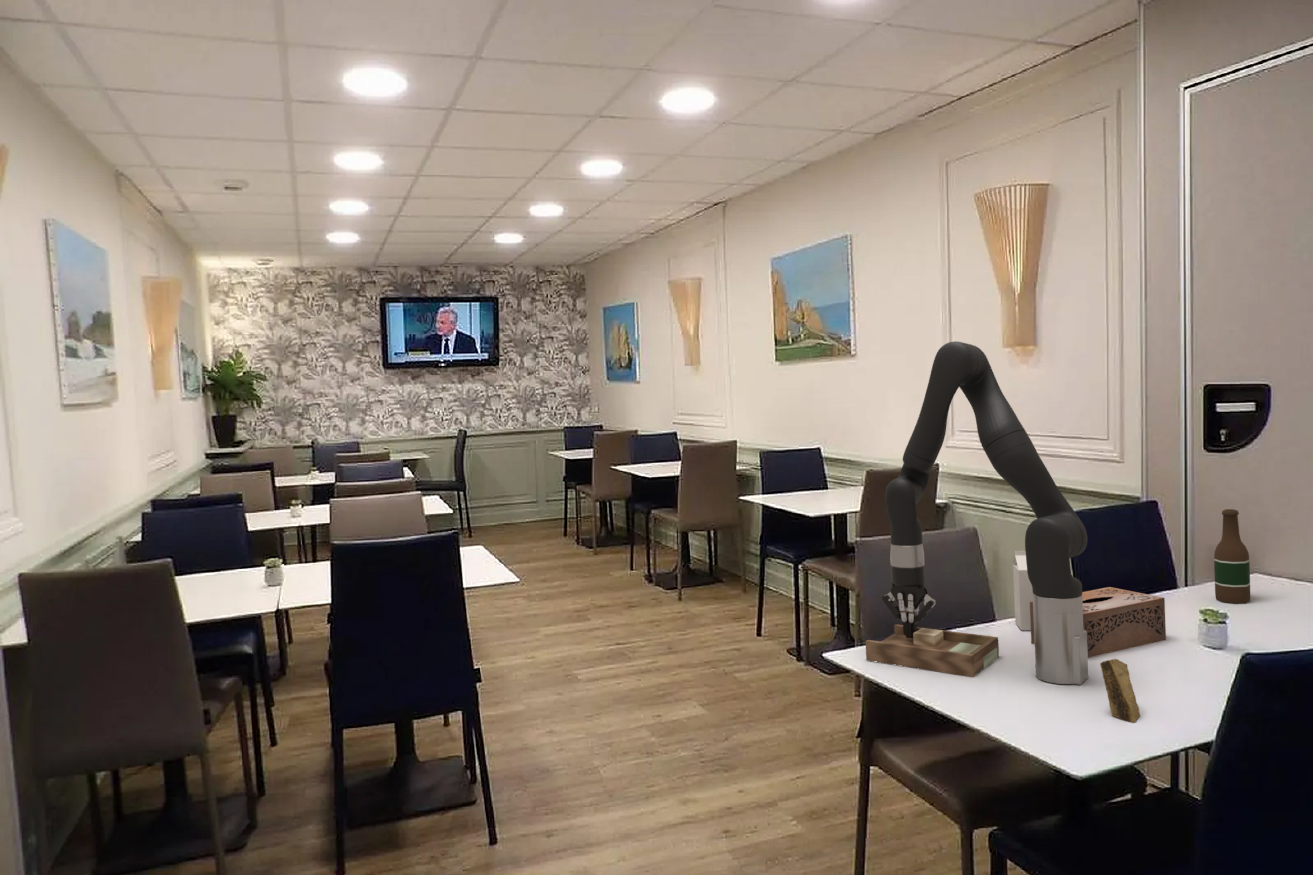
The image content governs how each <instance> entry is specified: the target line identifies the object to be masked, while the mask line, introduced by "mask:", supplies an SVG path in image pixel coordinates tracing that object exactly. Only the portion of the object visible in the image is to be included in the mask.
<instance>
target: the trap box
mask: <svg viewBox="0 0 1313 875" xmlns="http://www.w3.org/2000/svg"><path fill="white" fill-rule="evenodd" d="M893 626H894V633H893V634H891V635H889V636H887V637H886V638H884V639H882V640H881V641H880V640H879V641H878V640H871V639H867V640H865V657H866V660H870V661H869V662H872V661H877V662H876V663H879V662H881V664H885V663H887V665H892V664H896V665H895V666H898V665H902V666H901V667H904V666H906V668H912V669H917V668H919V670H924V669H925V671H930V672H931V671H932V672H938V673H943V674H949V673H950V675H957V676H961V677H962V676H963V677H970V678H974V677H975V676H976V675H977V674H979V673H981V672H982V671H983V670H984V669H986V668H987V667H988V666H990V664H992V663H993V662H995V661H996V660H997V659H999V657H1000V652H999V650H1000V649H999V645H1000V644H999V636H992V635H985V634H975V633H970V632H969V633H968V632H958V631H952V630H944V629H941V630H942V631H943V637H944V642H942V643H940V644H939V645H937V646H936V647H932V646H925V645H917V644H914V639H911V638H906V635H904V633H903V624H898V623H897V624H894V625H893ZM921 628H922V627H921V626H917V631H918V630H920V629H921ZM925 628H926V629H930V628H928V627H925ZM933 629H934V630H938V629H935V628H933ZM994 660H995V661H994ZM981 670H982V671H981Z"/></svg>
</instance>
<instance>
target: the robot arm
mask: <svg viewBox="0 0 1313 875" xmlns="http://www.w3.org/2000/svg"><path fill="white" fill-rule="evenodd" d="M958 389H960V390H961V392H962V393H963V394H964V396H965V398H966V399H967V401H968V402H969V404H970V406H971V408H972V411H973V413H974V417H975V423H976V429H977V436H978V439H979V443H980V445H981V447H982V448H983V451H984V453H985V455H986V456H987V459H988V460H989V462H990V464H991V466H992V468H993V469H994V470H995V472H996V473H997V474H998V475H999V476H1000V477H1001V478H1002V479H1003V481H1005V482H1006V483H1007V484H1008V485H1009V486H1010V487H1012V489H1014V490H1015V491H1016V492H1017V493H1019V495H1021V496H1022V497H1023V498H1024V500H1025V501H1026V502H1027V503H1028V504H1029V507H1030V508H1031V510H1032V512H1033V514H1034V515H1035V517H1036V519H1034V520H1033V521H1031V522H1030V523H1029V525H1028V526H1027V528H1026V532H1025V536H1024V551H1025V552H1026V563H1027V573H1028V578H1029V580H1030V582H1031V585H1032V590H1033V616H1034V641H1035V645H1034V658H1035V665H1034V667H1035V677H1036V678H1037V679H1039V680H1040V681H1044V682H1046V683H1051V684H1060V685H1079V686H1080V685H1082V684H1083V683H1084V682H1085V681H1086V680H1087V679H1088V678H1089V658H1088V650H1087V631H1086V630H1084V626H1083V600H1082V592H1083V584H1082V582H1081V580H1080V579H1078V578H1076V577H1074V576H1073V575H1072V570H1071V569H1072V568H1071V560H1070V559H1071V558H1075V557H1077V556H1080V555H1081V554H1082V553H1084V551H1085V550H1086V549H1087V546H1088V541H1089V540H1088V539H1089V538H1088V534H1087V530H1086V527H1085V525H1084V523H1083V522H1082V520H1081V519H1080V517H1079V516H1078V514H1077V513H1076V511H1075V510H1074V508H1073V507H1072V506H1071V505H1070V503H1069V502H1068V501H1067V499H1066V497H1065V496H1064V495H1063V493H1062V492H1061V490H1060V489H1059V488H1058V486H1057V484H1056V483H1055V481H1054V479H1053V477H1052V475H1051V474H1050V471H1049V470H1048V468H1047V466H1046V464H1045V463H1044V462H1043V460H1042V458H1041V457H1040V455H1039V453H1038V451H1037V449H1036V447H1035V445H1034V443H1033V441H1032V440H1031V438H1030V436H1029V435H1028V433H1027V431H1026V429H1025V428H1024V426H1023V424H1022V423H1021V422H1020V419H1019V418H1018V416H1017V414H1016V412H1015V411H1014V409H1013V407H1012V406H1011V405H1010V402H1009V401H1008V399H1007V398H1006V396H1005V395H1004V393H1003V391H1002V389H1001V387H1000V385H999V383H998V380H997V378H996V375H995V373H994V371H993V369H992V366H991V364H990V362H989V359H988V357H987V355H986V354H985V352H984V351H983V350H982V349H981V348H979V347H978V346H976V345H974V344H970V343H966V342H964V341H963V342H962V341H956V340H955V341H949V342H947V343H944V344H943V345H942V346H941V347H940V348H939V349H938V350H937V351H936V354H935V356H934V360H933V362H932V368H931V370H930V375H929V379H928V383H927V386H926V391H925V394H924V398H923V402H922V404H921V408H920V412H919V415H918V418H917V420H916V423H915V426H914V429H913V431H912V433H911V436H910V438H909V440H908V442H907V445H906V448H905V450H904V452H903V455H902V462H903V464H902V467H901V469H900V472H899V474H898V477H897V478H894V479H892V480H891V481H890V482H889V483H888V484H887V485H886V488H885V496H884V498H885V499H884V500H885V506H886V511H887V512H886V513H887V515H888V516H887V517H888V520H889V523H890V527H889V528H890V552H889V553H890V554H889V555H890V558H889V562H890V575H891V576H890V579H891V587H890V589H889V590H890V591H889V592H888V593H887V594H885V595H883V596H882V597H881V601H883V603H884V604H885V606H886V607H887V608H888V610H889V611H890V613H891V614H892V615H893V617H894V618H895V619H899V620H901V621H902V625H903V633H904V635H906V638H911V639H913V633H914V632H916V631H917V627H918V622H920V621H922V620H924V619H925V618H926V617H927V616H928V615H929V614H930V612H931V611H932V610H933V609H934V607H935V606H936V604H937V603H938V601H937V599H936V598H932V597H931V596H930V595H929V594H928V589H927V588H926V568H925V566H926V565H925V564H926V563H925V551H924V546H923V545H924V544H923V527H922V526H923V525H922V522H921V520H920V519H919V518H918V514H917V504H918V503H919V502H920V501H921V500H922V498H923V496H924V495H925V492H926V489H927V487H928V483H929V479H930V477H931V473H932V469H933V467H934V465H935V463H936V460H937V458H938V456H939V454H940V451H941V449H942V447H943V445H944V441H945V437H946V434H947V426H948V417H949V410H950V406H951V405H952V401H953V398H954V396H955V395H956V393H957V391H958ZM922 603H923V605H924V606H923V608H922V609H921V610H920V605H921V604H922ZM919 611H920V612H919Z"/></svg>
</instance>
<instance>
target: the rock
mask: <svg viewBox="0 0 1313 875" xmlns="http://www.w3.org/2000/svg"><path fill="white" fill-rule="evenodd" d="M1099 663H1100V664H1099V665H1100V669H1101V674H1102V678H1103V682H1104V686H1105V690H1106V693H1107V700H1108V705H1109V709H1110V713H1111V715H1112V717H1115V718H1117V719H1120V720H1123V721H1125V722H1130V723H1134V724H1135V723H1137V719H1138V718H1139V717H1140V716H1141V714H1140V707H1139V705H1138V703H1137V697H1136V694H1135V692H1134V688H1133V685H1132V682H1131V680H1130V678H1131V677H1130V672H1129V669H1128V664H1127V663H1126V662H1125V663H1124V662H1123V661H1121V660H1119V659H1117V658H1112V659H1108V660H1105V661H1102V662H1099Z"/></svg>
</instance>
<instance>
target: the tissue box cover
mask: <svg viewBox="0 0 1313 875" xmlns="http://www.w3.org/2000/svg"><path fill="white" fill-rule="evenodd" d="M1082 600H1083V626H1084V630H1086V631H1087V650H1088V659H1090V658H1093V657H1098V656H1102V655H1103V656H1104V655H1106V654H1110V653H1114V652H1120V651H1125V650H1129V649H1132V648H1138V647H1141V646H1146V645H1150V644H1155V643H1160V642H1163V641H1167V634H1166V633H1167V629H1166V628H1167V626H1166V603H1165V602H1166V601H1165V597H1163V596H1156V595H1153V594H1147V593H1142V592H1137V591H1132V590H1128V589H1127V590H1126V589H1121V588H1118V587H1117V588H1116V587H1111V586H1108V587H1103V588H1102V587H1101V588H1096V589H1092V590H1085V591H1082ZM1030 623H1031V630H1030V641H1031V643H1030V644H1031V645H1034V646H1035V641H1034V616H1033V602H1030Z"/></svg>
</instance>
